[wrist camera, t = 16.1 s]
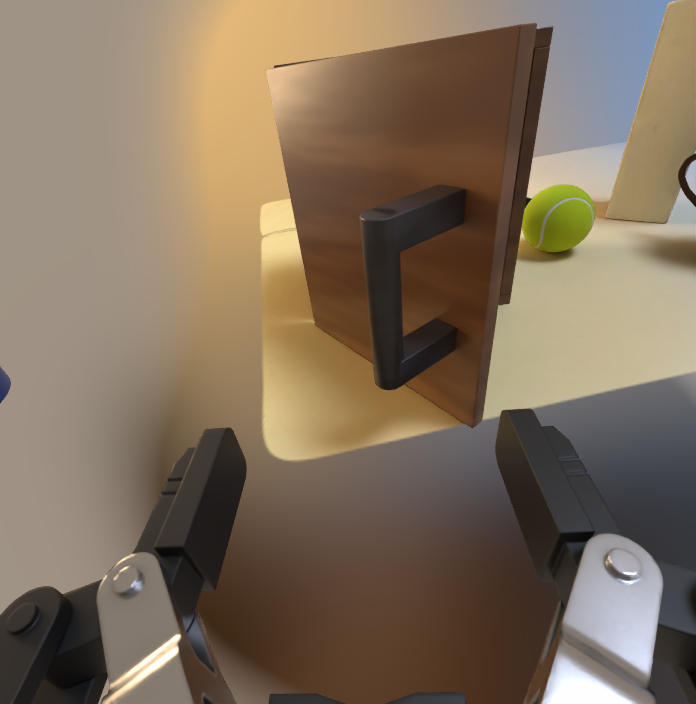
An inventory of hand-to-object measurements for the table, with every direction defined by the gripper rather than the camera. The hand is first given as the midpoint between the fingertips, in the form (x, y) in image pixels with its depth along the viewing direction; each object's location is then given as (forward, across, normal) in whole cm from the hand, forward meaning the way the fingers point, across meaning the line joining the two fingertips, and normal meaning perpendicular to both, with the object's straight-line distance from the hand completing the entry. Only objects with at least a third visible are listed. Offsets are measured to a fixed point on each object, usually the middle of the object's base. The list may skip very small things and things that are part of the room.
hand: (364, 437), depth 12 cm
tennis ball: (+35, -21, +10) cm, 42 cm away
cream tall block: (+44, -36, +10) cm, 58 cm away
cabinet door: (+15, +1, +10) cm, 18 cm away
